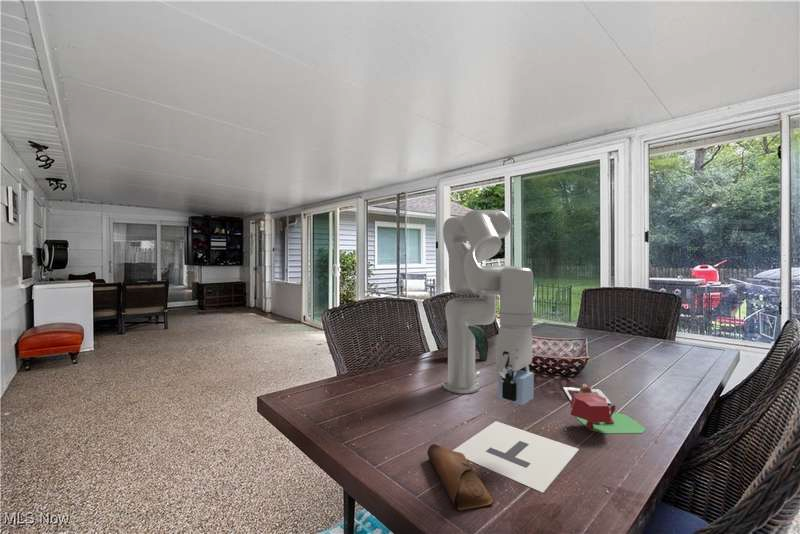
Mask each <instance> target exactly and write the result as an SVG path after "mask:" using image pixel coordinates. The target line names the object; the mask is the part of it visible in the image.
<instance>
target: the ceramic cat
mask: <svg viewBox="0 0 800 534" xmlns="http://www.w3.org/2000/svg"><path fill="white" fill-rule="evenodd" d="M479 326H481V327H479ZM468 328H469V330H470V331H471V332H472V333H473V335H474V337H475V349H477V350H478V353H479V354H478V356H479V357H478V358H479V361H482V362H483V361H484V362H485V361H487V359H488V351H489V339H488V338H487V334H486V333H487V332H486V329H485V327H484V325H478V326H477V325H470V326H468ZM442 331H443V332H444V334H445V335H446V336H448V327H447V320H445V323H444V325H443V330H442ZM446 359H447V360H448V338H447V340H446Z"/></svg>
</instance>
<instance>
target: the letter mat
mask: <svg viewBox="0 0 800 534" xmlns="http://www.w3.org/2000/svg"><path fill="white" fill-rule="evenodd" d="M579 450H580V449H579V448H578V447H574V446H571V445H570V444H569V445H568V444H565V443H563V442H560V441H556V440H554V439H552V438H548V437H544V436H541V435H539V434H535V433H532V432H529V431H528V430H527V431H526V430H523V429H520V428H517V427H515V426H512V425H509V424H505V423H504V422H503V423H502V422H500V421H497V420H495V421H494V422H493V423H490V424H489V425H488V426H487V427H486V428H483V429H482V430H480V431H479V432H477V433H476V434H474V435H473V436H471V438H469V439H467V440H466V441H464V442H463V443H461V444H460V445H458V446H457V447H456V448H454V449H452V451H456V452H460V453H463V454H464V456H465V457H466V459H467V461H468V462H469V461H470V462H471V463H473V464H476V465H479V466H480V467H483V468H486V469H487V470H490V471H492V472H495V473H496V474H499V475H501V476H504V477H505V478H507V479H509V480H512V481H515V482H517V483H519V484H522V485H524V486H527V488H530V489H533V490H535V491H537V492H540V493H542V494H544V493H545V491H546V490H547V489H548V488H549V486H551V484H552V483H553V482H554V480H556V479H557V477H558V476H559V475H560V473H561V472H563V470H564V468H566V466H567V465H568V464H569V463H570V461H571V460H572V459H573V458H574V456H575V455H576V454H577V453H578V452H579Z"/></svg>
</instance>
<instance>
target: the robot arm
mask: <svg viewBox="0 0 800 534" xmlns="http://www.w3.org/2000/svg"><path fill="white" fill-rule="evenodd" d="M511 225H512V224H511V219H510V217H509V216H508V213H507V212H505V211H503V210H501V209H499V210H497V209H473V210H470V211H468V212H466V213H465V214H464V215H462V216H452V217H449V218H446V220H445V221H444V223H443V227H442V230H443V231H442V235H443V237H442V238H443V241H444V245H445V249H446V251H447V256H448V285H449V290H450V291H451V293H453V294H455V295H477V296H479V297H457V298H453V299H450V300H448V301H447V302H446V303H445V307H444V308H445V309H444V313H445V319H446V320H447V327H448V335H447V339H448V359H447V379H446V380H445V381H443V388H444V389H445V390H446V391H448V392H450V393H451V392H452V393H454V394H472V393H473V394H474V393H476V392H478V391H480V387H481V386H480V383H479V382H478V381H476V379H477V378H479V377H481V372H480V371H476V347H475V337H474V335H473V333H472V332H471V331H470V330H469V328H468V326H470V325H475V326H477V325H478V326H480V325H482V326H487V325H491V324H493V323H494V322H495V319H496V315H497V313H496V311H497V309H496V306H497V305H496V303H497V302H496V296H499V329H498V332H497V333H498V336H497V342H496V359H495V360H496V368H498V369H497V372H498V373H499V374H500V376H501V378H502V379H501V381H502V397H503V398H504V399H507V400H511V401H516V383H515V378H516V372H517V371H518V370H523V371H527V372H531V371H530V368H531V364H532V363H533V351H534V350H533V332H532V328H534V273H533V271H532V269H530V268H529V267H519V266H516V265H480V263H483V262H484V261H486V260H489V259H492V257H494V256H496V255H497V254H498V253H499V252H500V250H501V248H502V240H501V239H503V238H505V237H507V235H509V233H510V231H511ZM466 242H468V243H469V245H467V243H466ZM469 246H470V247H469ZM446 320H445V321H446ZM508 368H512V369H508ZM507 371H508V372H512V375H511V376H510V374H509V373H507Z"/></svg>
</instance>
